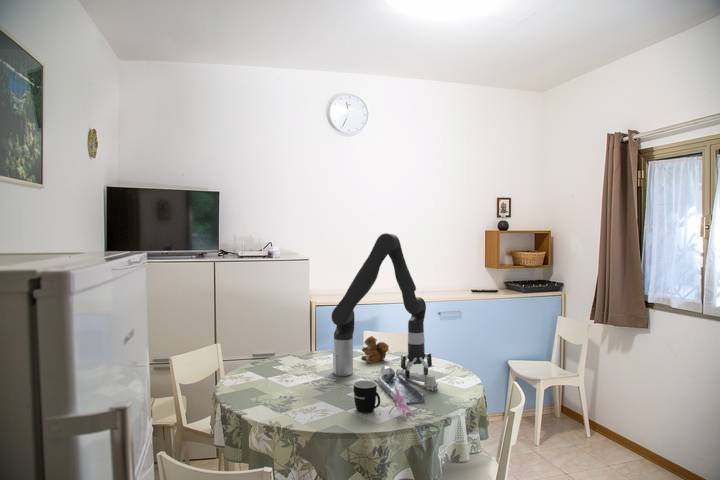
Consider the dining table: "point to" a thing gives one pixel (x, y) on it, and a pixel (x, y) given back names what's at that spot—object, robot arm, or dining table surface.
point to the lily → (400, 402)
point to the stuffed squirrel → (374, 350)
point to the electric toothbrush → (420, 379)
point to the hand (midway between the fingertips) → (416, 377)
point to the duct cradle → (399, 386)
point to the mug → (365, 396)
